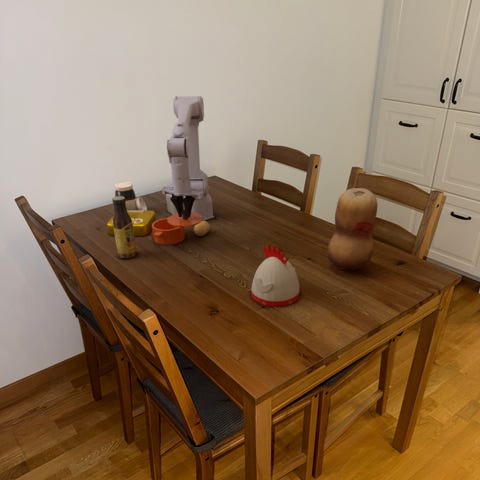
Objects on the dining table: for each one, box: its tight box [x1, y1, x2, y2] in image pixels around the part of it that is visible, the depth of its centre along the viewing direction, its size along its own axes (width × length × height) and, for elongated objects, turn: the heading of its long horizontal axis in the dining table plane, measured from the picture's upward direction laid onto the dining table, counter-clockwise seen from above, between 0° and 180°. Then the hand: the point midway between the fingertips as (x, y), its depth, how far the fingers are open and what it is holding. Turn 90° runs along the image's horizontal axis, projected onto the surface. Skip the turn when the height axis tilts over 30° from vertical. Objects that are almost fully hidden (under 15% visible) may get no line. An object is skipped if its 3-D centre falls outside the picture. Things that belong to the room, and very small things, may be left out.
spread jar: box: [114, 181, 148, 210], centre depth 189 cm, size 12×11×12 cm
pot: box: [151, 217, 186, 246], centre depth 170 cm, size 11×17×5 cm
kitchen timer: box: [250, 243, 300, 307], centre depth 133 cm, size 14×14×15 cm
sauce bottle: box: [111, 196, 137, 259], centre depth 155 cm, size 7×6×20 cm
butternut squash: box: [327, 187, 378, 272], centre depth 142 cm, size 14×13×25 cm
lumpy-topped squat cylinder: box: [165, 194, 185, 215], centre depth 192 cm, size 10×13×9 cm
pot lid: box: [167, 208, 203, 228], centre depth 160 cm, size 12×12×4 cm
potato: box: [193, 220, 211, 237], centre depth 172 cm, size 7×5×5 cm, turn 157°
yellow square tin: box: [106, 209, 157, 237], centre depth 179 cm, size 15×15×5 cm
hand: (184, 216), depth 161 cm, fingers closed on pot lid, 2 cm apart
